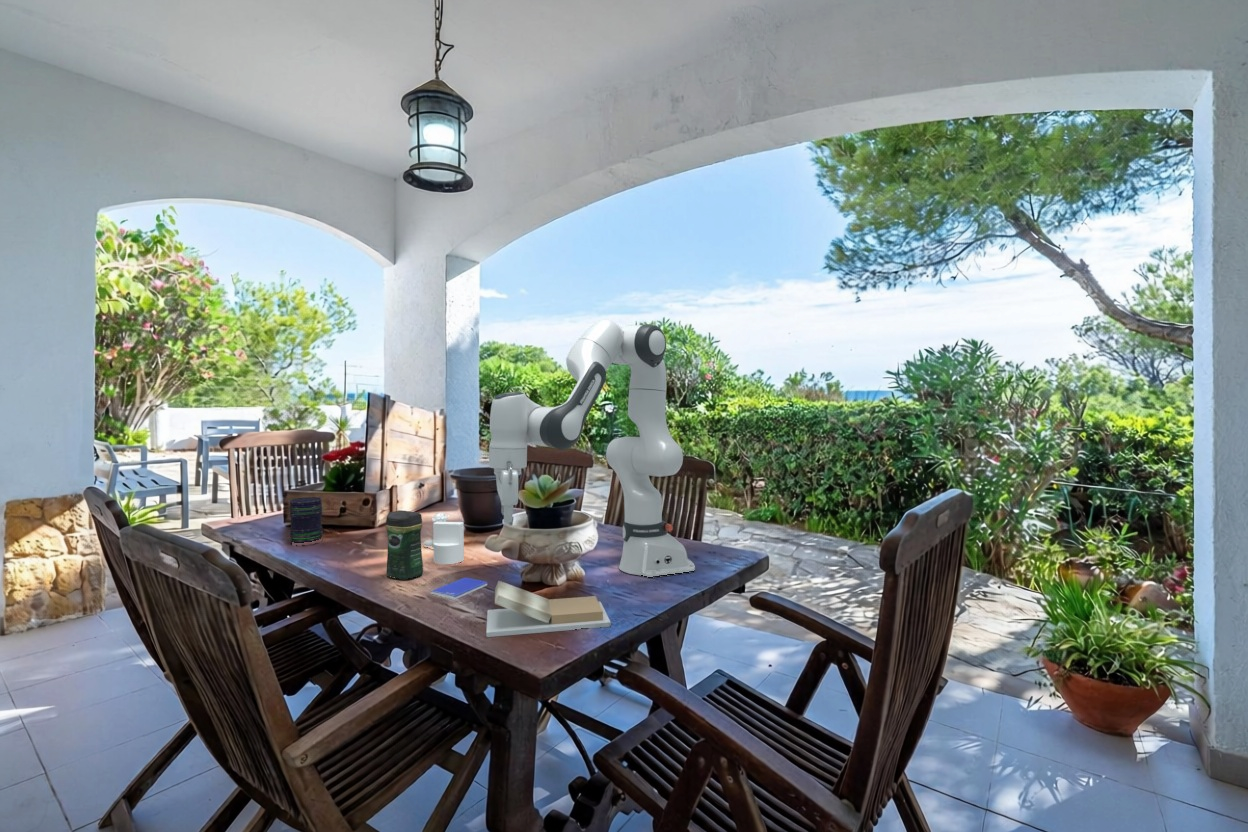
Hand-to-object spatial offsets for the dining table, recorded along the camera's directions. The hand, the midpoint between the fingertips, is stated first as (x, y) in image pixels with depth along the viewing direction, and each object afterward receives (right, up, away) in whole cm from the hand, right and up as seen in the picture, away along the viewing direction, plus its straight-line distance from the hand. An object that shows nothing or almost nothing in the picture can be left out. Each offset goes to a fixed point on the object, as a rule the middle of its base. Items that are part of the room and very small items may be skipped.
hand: (506, 518), depth 137 cm
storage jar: (-82, -20, +63) cm, 105 cm away
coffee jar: (-34, -21, +27) cm, 49 cm away
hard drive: (-16, -22, +16) cm, 32 cm away
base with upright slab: (-26, -21, +41) cm, 53 cm away
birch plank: (+4, -19, -6) cm, 20 cm away
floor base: (+10, -23, -5) cm, 25 cm away
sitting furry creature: (-34, -20, +57) cm, 69 cm away
